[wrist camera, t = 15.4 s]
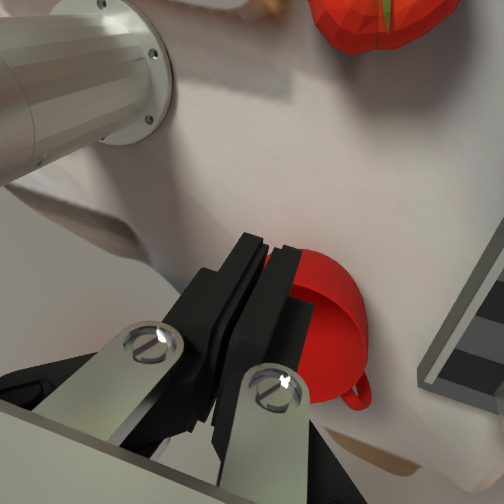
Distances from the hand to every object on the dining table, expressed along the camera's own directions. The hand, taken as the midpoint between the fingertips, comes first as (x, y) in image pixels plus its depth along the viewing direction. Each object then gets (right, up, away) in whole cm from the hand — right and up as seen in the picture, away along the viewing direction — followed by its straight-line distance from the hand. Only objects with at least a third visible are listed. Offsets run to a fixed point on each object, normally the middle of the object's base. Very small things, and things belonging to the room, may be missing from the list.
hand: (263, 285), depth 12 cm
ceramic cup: (+7, -3, +33) cm, 33 cm away
